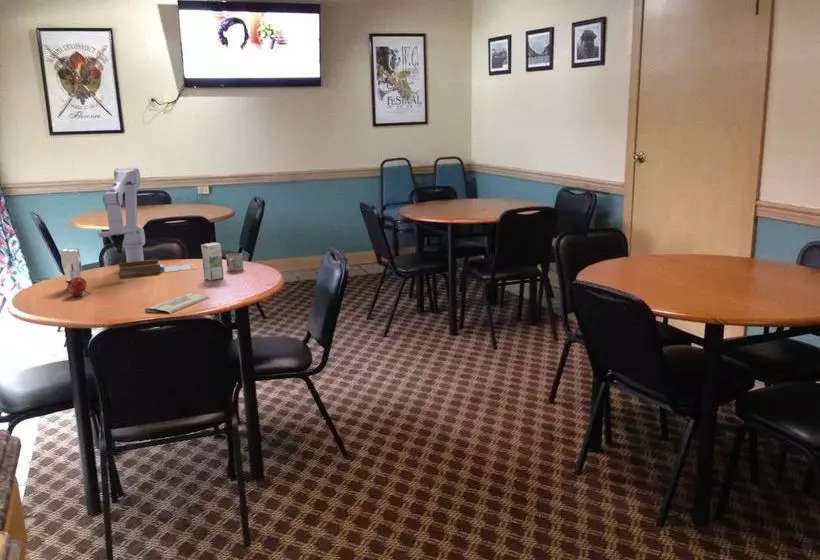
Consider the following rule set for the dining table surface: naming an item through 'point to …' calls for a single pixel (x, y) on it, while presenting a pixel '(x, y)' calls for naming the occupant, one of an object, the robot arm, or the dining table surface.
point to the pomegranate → (76, 286)
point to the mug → (234, 262)
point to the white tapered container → (71, 263)
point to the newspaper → (177, 303)
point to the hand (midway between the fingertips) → (119, 252)
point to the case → (139, 268)
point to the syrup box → (212, 261)
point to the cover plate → (174, 268)
